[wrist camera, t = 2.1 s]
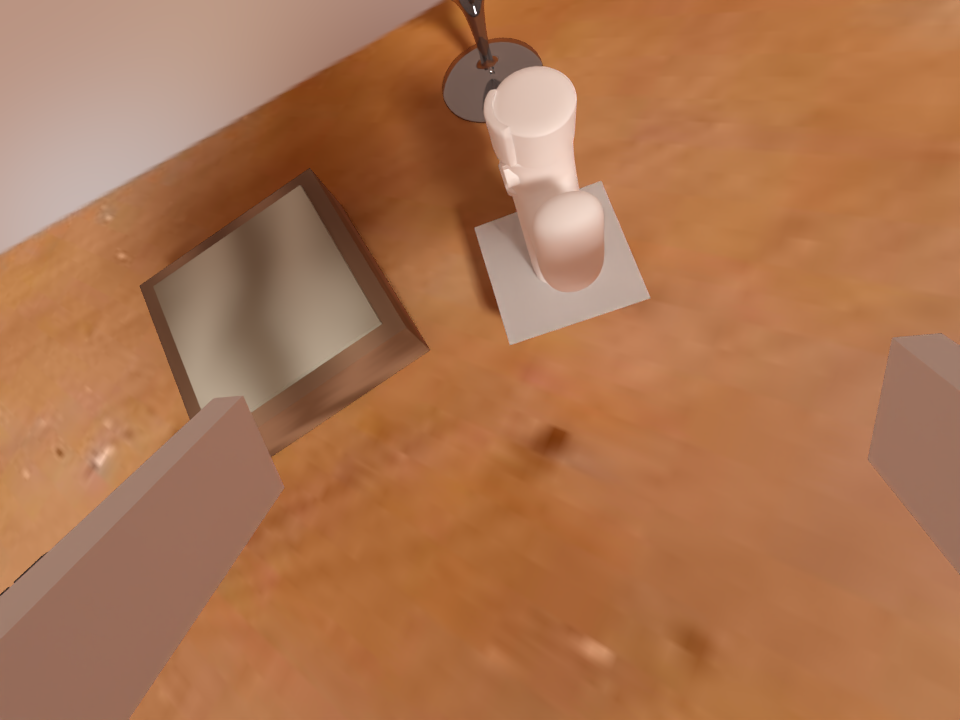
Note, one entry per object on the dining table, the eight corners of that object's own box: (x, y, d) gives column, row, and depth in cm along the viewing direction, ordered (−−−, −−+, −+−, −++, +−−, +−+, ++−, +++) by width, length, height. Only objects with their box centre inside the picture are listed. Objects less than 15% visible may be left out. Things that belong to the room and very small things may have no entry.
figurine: (595, 202, 32) (587, -47, 18) (652, 342, 28) (697, 172, 14) (483, 243, 33) (391, 37, 19) (526, 382, 29) (455, 260, 15)
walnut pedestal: (340, 204, 36) (307, 165, 32) (429, 350, 31) (404, 325, 27) (187, 309, 36) (135, 283, 32) (253, 469, 32) (202, 461, 28)
